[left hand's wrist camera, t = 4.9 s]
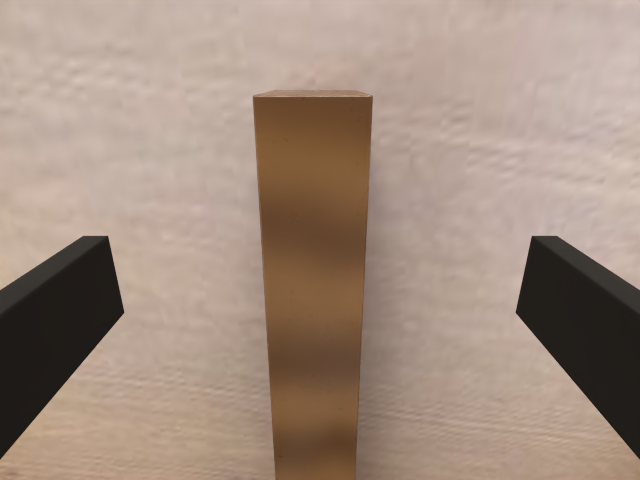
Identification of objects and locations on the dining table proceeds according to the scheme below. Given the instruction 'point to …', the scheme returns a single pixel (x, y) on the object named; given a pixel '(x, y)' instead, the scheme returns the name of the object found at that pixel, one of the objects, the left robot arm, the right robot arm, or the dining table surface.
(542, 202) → the dining table surface
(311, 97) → the beam
